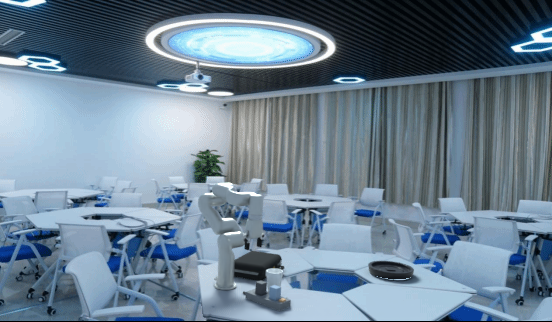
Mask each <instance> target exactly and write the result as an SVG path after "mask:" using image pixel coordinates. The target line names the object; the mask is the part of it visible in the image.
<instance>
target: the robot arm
mask: <svg viewBox="0 0 552 322" xmlns="http://www.w3.org/2000/svg"><path fill="white" fill-rule="evenodd" d="M237 190H238V189H236V186H235V185H234V184H233V183H231V182H219V183H215V184H213V185H212V187H211V192H206V193H202V194H201V195H199V196H198V200H197V206H198V209H199V211H200V213H201V215H202V216H203V217H204V218H205V220H206V221H207V223H208V225H209V226H210V229H211V230H212V232H213V233H214V234H215V235H218V237H217V239H216V241H217V243H216V244H217V250H218V259H217V260H218V262H217V263H218V265H217V275H216V277H214V281H216V282H215V283H214V288H215V289H217V290H222V291H230V290H233V289H236V287H237V283H236V282H235V277H234V265H235V259H236V257H235V253H234V252H233V249H236V248H241V247H244V250H245V251H250V247H251V240H253V239H256V247H258V248H262V246H263V240H264V237H265V234H266V230H264V224H263V215H264V214H263V211H264V210H263V208H264V196H263V194H260V193H258V194H257V193H255V192H252V191H243V192H238V191H237ZM225 204H229V205H232V206H235V207H246V206H247V207H248V213H247V214H248V216H247V220H246V223H245V228H244V231H243V230H242V228H241V226H240V225H239V222H237V220H236V219H234V218H233V217H226V218H225V217H222V216H221V214H220V212H219V211H218V210H217V209H215V208H214V207H221V206H223V205H225Z"/></svg>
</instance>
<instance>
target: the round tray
mask: <svg viewBox="0 0 552 322" xmlns="http://www.w3.org/2000/svg"><path fill="white" fill-rule="evenodd" d="M368 271H369V273H370V274H371V275H372V274H373V275H375V276H374V277H376V276H378V277H382V278H388V279H406V278H410V277H411V278H412V277H413V276H414V272H415V269H414V267H412V266H410V265H408V264H405V263H402V262H398V261H391V260H374V261H370V262H369V263H368ZM373 275H372V276H373ZM378 277H377V278H378ZM382 278H381V279H382ZM411 278H410V279H411Z"/></svg>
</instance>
